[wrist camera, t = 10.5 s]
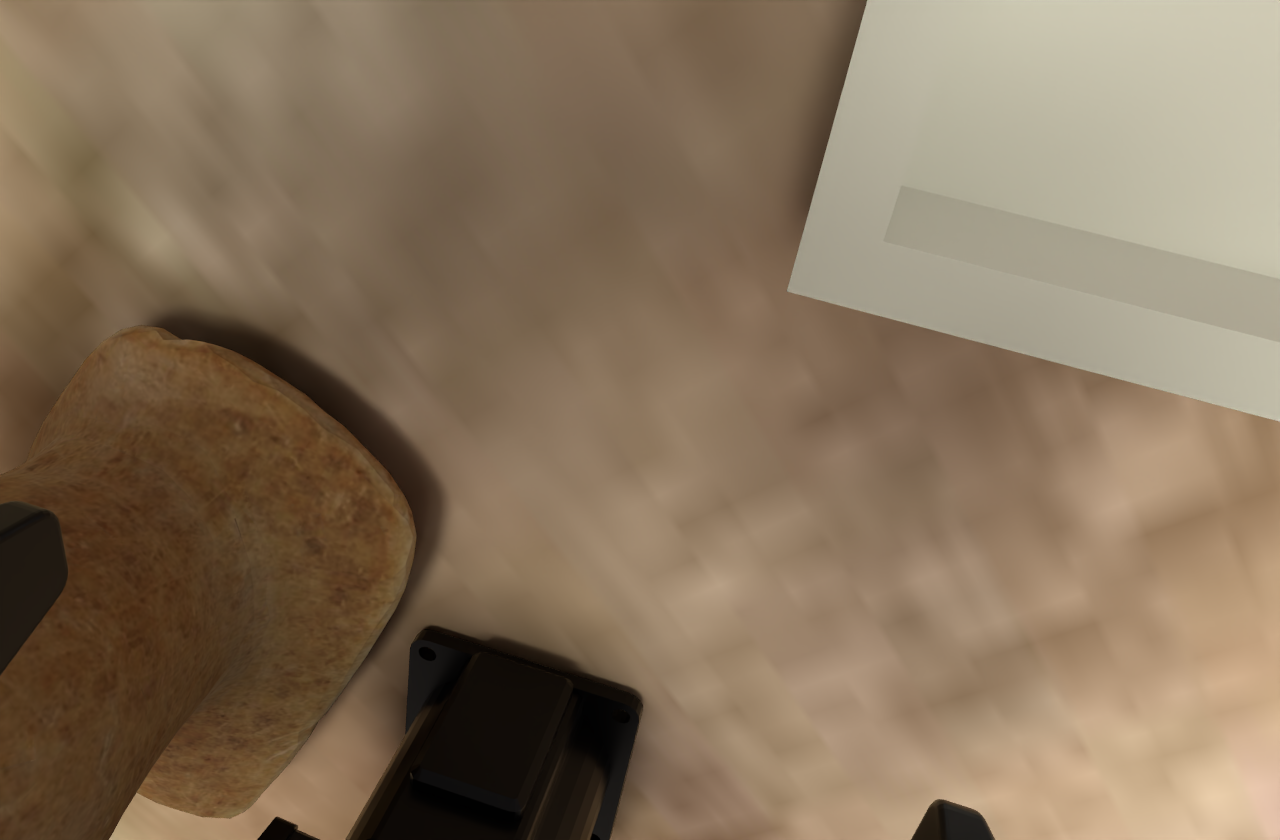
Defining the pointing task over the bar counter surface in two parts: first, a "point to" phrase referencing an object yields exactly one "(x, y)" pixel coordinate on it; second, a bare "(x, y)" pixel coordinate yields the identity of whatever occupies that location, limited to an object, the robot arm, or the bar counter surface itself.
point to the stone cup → (189, 586)
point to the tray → (1065, 186)
